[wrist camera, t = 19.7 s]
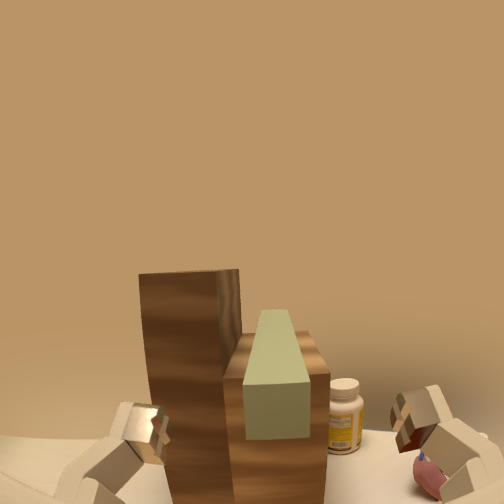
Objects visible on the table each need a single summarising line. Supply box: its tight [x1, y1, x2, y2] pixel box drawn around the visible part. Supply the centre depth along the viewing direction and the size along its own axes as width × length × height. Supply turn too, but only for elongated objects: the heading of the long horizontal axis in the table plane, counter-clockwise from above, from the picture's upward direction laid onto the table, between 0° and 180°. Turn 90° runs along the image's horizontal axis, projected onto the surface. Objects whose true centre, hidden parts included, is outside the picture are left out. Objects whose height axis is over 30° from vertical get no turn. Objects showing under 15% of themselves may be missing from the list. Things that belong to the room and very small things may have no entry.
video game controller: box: [413, 451, 447, 501], centre depth 24 cm, size 10×5×7 cm, turn 135°
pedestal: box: [139, 269, 330, 504], centre depth 30 cm, size 16×14×25 cm
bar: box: [242, 309, 311, 440], centre depth 25 cm, size 24×3×3 cm, turn 176°
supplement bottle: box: [328, 378, 363, 454], centre depth 36 cm, size 5×5×10 cm
